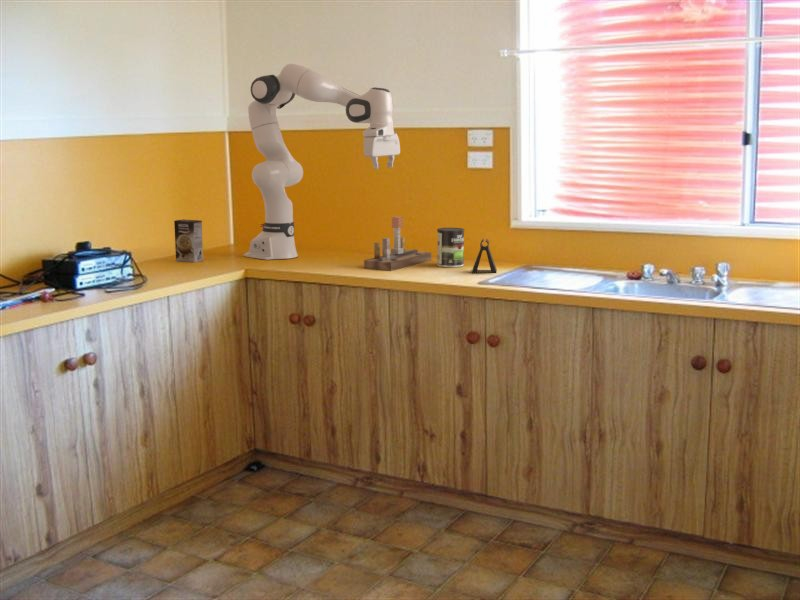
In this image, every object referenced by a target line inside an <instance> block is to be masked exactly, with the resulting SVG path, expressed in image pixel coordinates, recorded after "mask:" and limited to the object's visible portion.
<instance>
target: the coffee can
mask: <svg viewBox="0 0 800 600" xmlns="http://www.w3.org/2000/svg"><path fill="white" fill-rule="evenodd" d="M436 231H437V255H436V257H437V259H436V260H437V262H436V263H437V264H436V265H437V267H440V268H462V267H464V262H465V260H464V257H465V256H464V253H465V251H464V250H465V249H464V248H465V245H464V244H465V229H464V228H461V227H440V228H437V229H436Z"/></svg>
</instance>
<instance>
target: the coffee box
mask: <svg viewBox="0 0 800 600" xmlns="http://www.w3.org/2000/svg"><path fill="white" fill-rule="evenodd" d="M173 222H174V224H173V225H174V243H175V244H174V245H175V247H174V248H175V261H176V262H183V263H184V262H187V263H198V262H200V261H201V262H202V261H204V255H203V254H204V251H203V224H202V223H203V220H197V219H184V218H183V219H176V220H173Z"/></svg>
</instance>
